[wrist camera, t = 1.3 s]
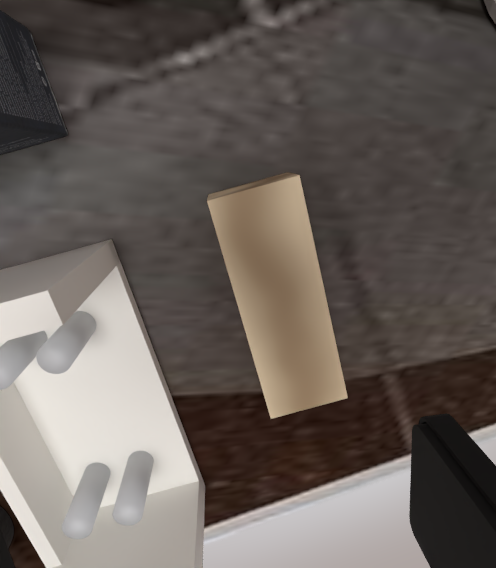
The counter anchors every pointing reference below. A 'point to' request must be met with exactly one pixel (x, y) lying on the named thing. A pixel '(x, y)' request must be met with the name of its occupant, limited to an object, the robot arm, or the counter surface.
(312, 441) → the counter surface
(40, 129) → the box
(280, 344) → the oak board
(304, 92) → the counter surface
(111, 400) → the peg frame
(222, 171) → the counter surface
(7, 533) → the coffee cup
